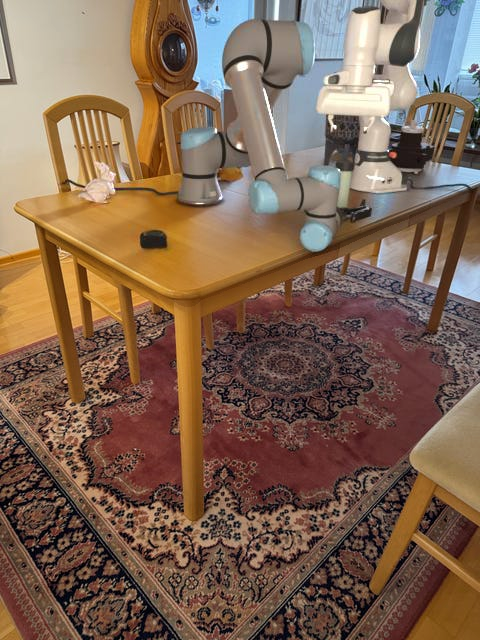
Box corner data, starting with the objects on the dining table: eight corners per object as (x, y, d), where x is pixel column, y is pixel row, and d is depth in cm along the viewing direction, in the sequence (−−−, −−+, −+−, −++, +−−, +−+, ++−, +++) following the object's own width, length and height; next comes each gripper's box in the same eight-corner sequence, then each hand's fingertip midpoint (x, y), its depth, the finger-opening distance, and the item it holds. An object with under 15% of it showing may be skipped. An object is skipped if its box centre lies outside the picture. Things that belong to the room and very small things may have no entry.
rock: (349, 149, 251) (351, 136, 248) (362, 151, 245) (364, 138, 242) (334, 151, 243) (336, 138, 240) (347, 154, 238) (349, 141, 234)
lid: (333, 167, 137) (333, 159, 136) (351, 167, 138) (352, 159, 137) (337, 171, 133) (338, 163, 131) (356, 171, 133) (357, 163, 132)
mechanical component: (380, 119, 194) (409, 114, 214) (372, 170, 205) (400, 161, 225) (430, 124, 182) (455, 119, 202) (419, 178, 193) (444, 167, 213)
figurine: (124, 198, 157) (120, 160, 151) (89, 208, 146) (83, 167, 140) (108, 194, 161) (103, 157, 155) (73, 204, 150) (67, 164, 144)
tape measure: (140, 252, 115) (139, 238, 113) (141, 242, 120) (140, 229, 119) (167, 251, 116) (166, 237, 114) (167, 241, 121) (166, 228, 120)
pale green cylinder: (329, 216, 145) (335, 161, 136) (343, 216, 145) (350, 161, 136) (332, 220, 141) (339, 164, 132) (347, 220, 141) (355, 164, 132)
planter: (313, 167, 208) (319, 103, 195) (331, 160, 222) (338, 101, 209) (353, 173, 199) (362, 107, 185) (369, 166, 213) (379, 104, 199)
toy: (211, 173, 177) (218, 164, 190) (217, 189, 180) (223, 179, 193) (237, 164, 174) (242, 156, 187) (243, 180, 177) (247, 171, 189)
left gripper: (281, 228, 127) (300, 208, 144) (371, 241, 119) (380, 218, 137) (283, 201, 123) (302, 184, 140) (376, 213, 116) (385, 193, 133)
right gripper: (395, 78, 124) (386, 133, 131) (320, 76, 128) (315, 129, 135) (396, 79, 118) (387, 136, 125) (318, 77, 122) (313, 132, 129)
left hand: (341, 201), depth 139 cm, fingers open, 13 cm apart
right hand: (349, 132), depth 130 cm, fingers open, 8 cm apart
